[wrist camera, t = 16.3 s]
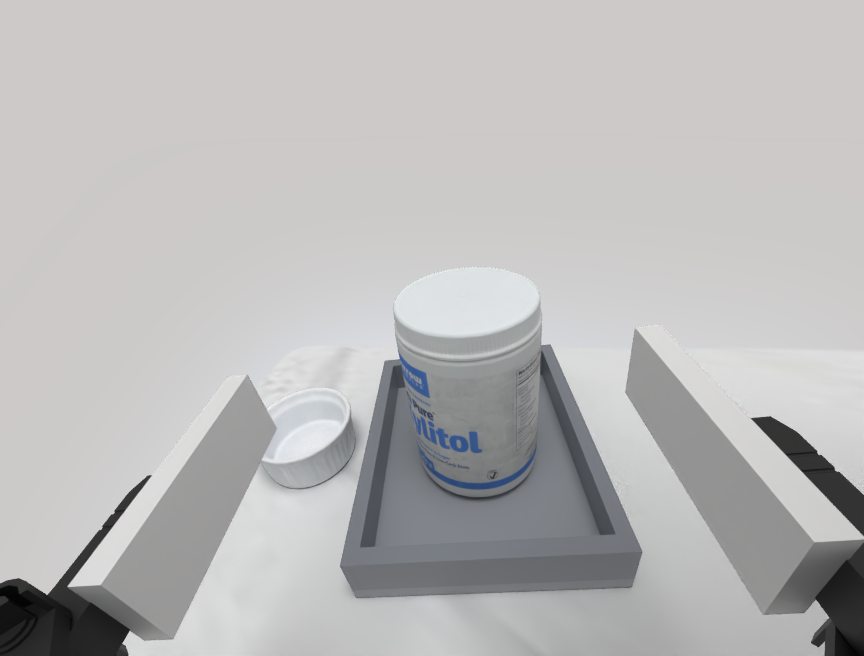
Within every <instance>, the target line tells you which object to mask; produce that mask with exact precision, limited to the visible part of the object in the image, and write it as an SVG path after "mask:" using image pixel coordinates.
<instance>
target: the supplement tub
mask: <svg viewBox="0 0 864 656" xmlns="http://www.w3.org/2000/svg"><path fill="white" fill-rule="evenodd" d="M393 311H394V319H395V336H396V341H397V346H398V352H399V357H400V362H401V367H402V372H403V377H404V381H405V386H406V391H407V396H408V401H409V406H410V410H411V415H412V420H413V425H414V429H415V434H416V439H417V443H418V448H419V453H420V457H421V461H422V463H423V466H424V468H425V470H426V471H427V473H428V474H429V476H430V477H431V478H432V479H433V480H434V481H435V482H436V483H437V484H439V485H440V486H441V487H443V488H445V489H446V490H448V491H450V492H452V493H455V494H458V495H463V496H468V497H489V496H495V495H499V494H502V493H504V492H507V491H509V490H511V489H512V488H514V487H515V486H517V485H518V484H519V483H521V482H522V481H523V480H524V479H525V477H526V476H527V475H528V474H529V472H530V470H531V469H532V467H533V464H534V461H535V457H536V447H537V426H538V404H539V380H540V358H541V331H542V312H541V309H540V293H539V291H538V289H537V287H536V286H535V285H534V284H533V283H532V282H531V281H530V280H528V279H527V278H525V277H524V276H522V275H519V274H517V273H514V272H511V271H507V270H503V269H496V268H487V267H467V268H458V269H451V270H446V271H441V272H438V273H434V274H431V275H428V276H426V277H423V278H421V279H419V280H417V281H415V282H413V283H411V284H410V285H408V286H407V287H406V288H405V289H403V290H402V291H401V292H400V294H399V295H398V296H397V298H396V299H395V302H394V306H393Z"/></svg>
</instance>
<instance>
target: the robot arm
mask: <svg viewBox="0 0 864 656" xmlns="http://www.w3.org/2000/svg"><path fill="white" fill-rule="evenodd" d="M625 393H626V394H627V396H628V398H629V399H630V401H631V402H632V404H633V406H634V407H635V409H636V410H637V412H638V414H639V415H640V417H641V419H642V420H643V422H644V423H645V425H646V427H647V428H648V430H649V431H650V433H651V435H652V436H653V438H654V440H655V441H656V443H657V444H658V446H659V448H660V449H661V451H662V452H663V454H664V456H665V457H666V459H667V461H668V462H669V464H670V465H671V467H672V469H673V470H674V472H675V473H676V475H677V477H678V478H679V480H680V481H681V483H682V485H683V486H684V488H685V490H686V491H687V493H688V494H689V496H690V498H691V499H692V501H693V502H694V504H695V506H696V507H697V509H698V511H699V512H700V514H701V515H702V517H703V519H704V520H705V522H706V523H707V525H708V527H709V528H710V530H711V531H712V533H713V535H714V536H715V538H716V540H717V541H718V543H719V544H720V546H721V548H722V549H723V551H724V552H725V554H726V556H727V557H728V559H729V561H730V562H731V564H732V565H733V567H734V569H735V570H736V572H737V573H738V575H739V577H740V578H741V580H742V582H743V583H744V585H745V586H746V588H747V590H748V591H749V593H750V594H751V596H752V598H753V599H754V601H755V602H756V604H757V606H758V607H759V609H760V611H761V612H762V614H763V615H769V614H794V613H805V612H806V610H807V609H808V608H809V607H810V606H811V604H812V603H813V602H814V601H815V600H817V601H818V603H819V604H820V605H821V607H822V608H823V609H824V611H825V612H826V613H827V615H828V616H829V617H830V618H829V619H828V620H827V621H826V622H825V623H824V624H823V625H822V626H821V627H820V628H819V629H818V630H817V632H816V633H815V634H814V636H813V639H812V641H811V643H812V644H814V645H815V646H817V647H819V646H820V645H821V644H822V643H823V642H824V641H825V656H864V495H863V494H862V493H861V492H860V491H859V490H858V489H857V488H856V487H855V486H854V485H852V484H851V483H850V482H849V481H848V480H847V479H846V478H845V477H844V476H843V475H842V474H841V473H840V472H836V471H835V469H834V467H833V466H832V465H831V464H830V463H829V462H828V461H827V460H826V459H825V458H824V457H823V456H822V455H818V453H817V450H815V449H814V448H813V447H812V446H811V445H810V444H809V443H808V442H807V441H806V440H805V439H804V438H803V437H802V436H801V435H800V434H799V433H797V432H796V431H794V430H793V429H791V428H789V427H788V426H786V425H784V424H782V423H781V422H779V421H777V420H776V419H774V418H772V417H771V416H770V417H759V418H750V417H749V416H748V415H747V414H746V413H745V412H744V411H743V410H742V409H741V408H740V407H739V406H738V405H737V404H736V403H735V402H734V401H733V400H732V398H731V397H730V396H729V395H728V394H727V393H726V392H725V391H724V390H723V389H722V388H721V387H720V386H719V385H718V384H717V383H716V382H715V381H714V380H713V379H712V378H711V377H710V376H709V374H708V373H707V372H706V371H705V370H704V369H703V368H702V367H701V366H700V365H699V364H698V363H697V362H696V361H695V360H694V359H693V358H692V357H691V356H690V355H689V354H688V353H687V352H686V350H685V349H684V348H683V347H682V346H681V345H680V344H679V343H678V342H677V341H676V340H675V339H674V338H673V337H672V336H671V335H670V334H669V333H668V332H667V331H666V330H665V329H664V328H663V326H661V324H660V325H651V326H643V327H635V331H634V338H633V345H632V351H631V358H630V364H629V371H628V378H627V385H626V391H625ZM276 430H277V427H276V426H275V424H274V422H273V420H272V418H271V416H270V415H269V413H268V411H267V409H266V407H265V406H264V404H263V402H262V400H261V398H260V396H259V395H258V393H257V391H256V389H255V387H254V386H253V384H252V382H251V380H250V378H249V376H248V375H238V376H230V377H227V378H226V379H225V381H224V382H223V383H222V384H221V386H220V387H219V389H218V390H217V391H216V392H215V394H214V395H213V396H212V398H211V399H210V400H209V401H208V403H207V404H206V405H205V407H204V408H203V409H202V411H201V412H200V413H199V415H198V416H197V417H196V419H195V420H194V421H193V422H192V424H191V425H190V427H189V428H188V429H187V430H186V432H185V433H184V434H183V436H182V437H181V438H180V439H179V441H178V442H177V443H176V445H175V446H174V447H173V449H172V450H171V451H170V453H169V454H168V455H167V457H166V458H165V459H164V460H163V462H162V463H161V464H160V466H159V467H158V468H157V470H156V471H155V472H154V474H153V475H149V476H147V477H146V478H145V479H144V480H142V481H141V482H140V483H139V484H138V485H137V486H136V487H134V488H133V489H132V490H131V491H130V492H129V493H128V494H127V495H126V497H125V498H124V499H123V501H122V502H121V503H120V504H119V506H118V507H117V508H116V509H115V513H114V514H113V515H111V516H110V517H109V518H108V520H107V521H106V522H105V523H104V525H103V526H102V527H103V528H102V530H99V531H98V532H97V534H96V535H95V536H94V537H93V539H92V540H91V541H90V542H89V544H88V545H87V546H86V548H85V549H84V550H83V551H82V553H81V554H80V555H79V556H78V558H77V559H76V560H75V562H74V563H73V564H72V565H71V567H70V568H69V569H68V570H67V572H66V573H65V574H64V575H63V577H62V578H61V579H60V580H59V582H58V583H57V584H56V586H55V587H54V588H53V589H52V590H51V592H50V593H49V594H48V595H46V594H45V593H43V592H42V591H40V590H38V589H37V588H35V587H34V586H32V585H31V584H29V583H28V582H26V581H24V580H21V579H19V578H18V579H12V580H8V581H5V582H3V583H1V584H0V656H128V652H127V649H126V646H125V645H123V644H122V643H123V641H124V639H125V638H126V636H127V634H128V633H129V631H131V632H133V633H134V634H136V635H137V636H138V637H140V638H141V639H143V640H144V641H145V640H169V639H174V636H175V634H176V632H177V630H178V628H179V626H180V624H181V622H182V620H183V618H184V616H185V614H186V612H187V610H188V608H189V606H190V604H191V602H192V600H193V598H194V596H195V594H196V592H197V590H198V588H199V586H200V584H201V582H202V580H203V578H204V576H205V574H206V572H207V570H208V568H209V566H210V564H211V562H212V560H213V557H214V555H215V553H216V551H217V549H218V547H219V545H220V543H221V541H222V539H223V537H224V535H225V533H226V531H227V529H228V527H229V525H230V523H231V521H232V519H233V517H234V515H235V513H236V511H237V509H238V507H239V505H240V503H241V501H242V499H243V497H244V495H245V493H246V491H247V489H248V487H249V485H250V483H251V481H252V478H253V476H254V474H255V472H256V470H257V468H258V466H259V464H260V462H261V460H262V458H263V456H264V454H265V452H266V450H267V448H268V446H269V444H270V442H271V440H272V438H273V436H274V434H275V432H276Z"/></svg>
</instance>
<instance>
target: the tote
mask: <svg viewBox="0 0 864 656" xmlns="http://www.w3.org/2000/svg"><path fill="white" fill-rule="evenodd" d="M641 555H642V550H641V548H640V545H639V543H638V541H637V539H636V536H635V534H634V532H633V530H632V527H631V525H630V523H629V521H628V518H627V516H626V514H625V511H624V509H623V507H622V505H621V502H620V500H619V498H618V496H617V493H616V491H615V489H614V487H613V484H612V482H611V480H610V478H609V475H608V473H607V471H606V469H605V466H604V464H603V462H602V460H601V457H600V455H599V453H598V451H597V448H596V446H595V444H594V442H593V439H592V437H591V435H590V433H589V430H588V428H587V426H586V424H585V421H584V419H583V417H582V415H581V412H580V410H579V408H578V406H577V403H576V401H575V399H574V397H573V394H572V392H571V390H570V388H569V385H568V383H567V381H566V378H565V376H564V374H563V372H562V369H561V367H560V365H559V363H558V360H557V358H556V356H555V354H554V351H553V349H552V347H551V345H541V358H540V380H539V404H538V426H537V447H536V457H535V461H534V464H533V467H532V469H531V470H530V472H529V474H528V475H527V476H526V477H525V479H524V480H523V481H522V482H521V483H519V484H518V485H517V486H515V487H514V488H512V489H511V490H509V491H507V492H504V493H502V494H499V495H495V496H489V497H468V496H463V495H458V494H455V493H452V492H450V491H448V490H446V489H445V488H443V487H441V486H440V485H439V484H437V483H436V482H435V481H434V480H433V479H432V478H431V477H430V476H429V474H428V473H427V471H426V470H425V468H424V466H423V463H422V461H421V457H420V453H419V448H418V443H417V439H416V434H415V429H414V425H413V420H412V415H411V410H410V406H409V401H408V396H407V391H406V386H405V381H404V377H403V372H402V367H401V362H400V359H398V360H388V361H385V362H384V367H383V372H382V376H381V381H380V385H379V390H378V394H377V399H376V404H375V408H374V413H373V417H372V422H371V426H370V431H369V436H368V440H367V445H366V449H365V454H364V458H363V463H362V468H361V472H360V477H359V481H358V486H357V490H356V495H355V500H354V504H353V509H352V513H351V518H350V522H349V527H348V532H347V536H346V541H345V545H344V550H343V554H342V559H341V564H340V567H341V569H342V571H343V573H344V575H345V577H346V579H347V581H348V582H349V584H350V586H351V588H352V590H353V592H354V594H355V596H356V598H366V597H391V596H417V595H443V594H468V593H494V592H520V591H545V590H571V589H596V588H622V587H632V585H633V581H634V578H635V575H636V571H637V568H638V565H639V561H640V558H641Z"/></svg>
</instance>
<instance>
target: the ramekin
mask: <svg viewBox="0 0 864 656" xmlns="http://www.w3.org/2000/svg"><path fill="white" fill-rule="evenodd" d="M267 411H268V413H269V415H270V416H271V418H272V420H273V422H274V424H275V426H276V427H277V430H276V432H275V434H274V436H273V438H272V440H271V442H270V444H269V446H268V448H267V450H266V452H265V454H264V456H263V458H262V460H261V463H262V464H263V466H264V467H265V469H266V470H267V471H268V473H269V474H270V475H271V477H272V478H273V479H274V480H275V481H276V482H277V483H279V484H281V485H283V486H286V487H289V488H306V487H311V486H314V485H317V484H320V483H322V482H324V481H326V480H327V479H329V478H331V477H332V476H333V475H335V474H336V473H337V472H338V471H340V470H341V469H342V468H343V467H344V465H345V464H346V463H347V462H348V460H349V459H350V457H351V455H352V453H353V450H354V446H355V435H354V430H353V425H352V421H351V407H350V403H349V401H348V399H347V398H346V397H345V395H344V394H342V393H341V392H339V391H337V390H334V389H330V388H309V389H304V390H301V391H297V392H295V393H292V394H289V395H287V396H285V397H283V398H281V399H279V400H278V401H276V402H275V403H273V404H272V405H270V406H269V407H268V408H267Z"/></svg>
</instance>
